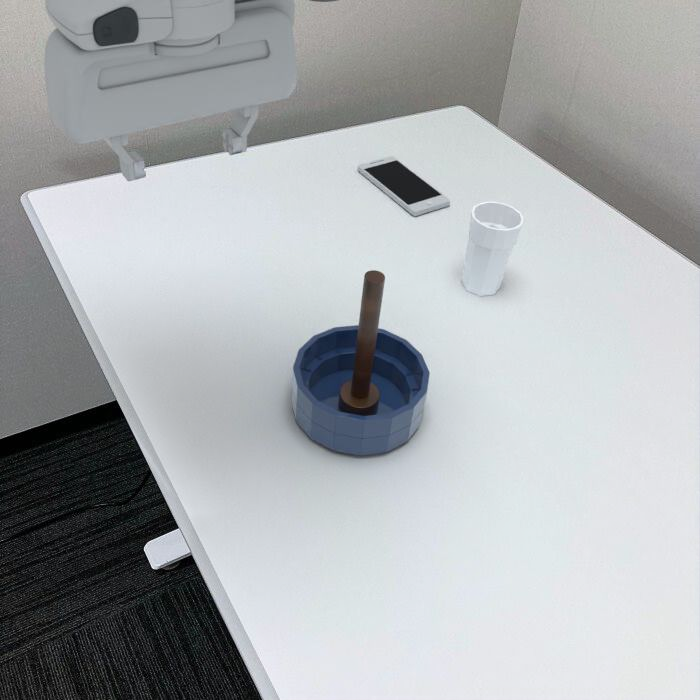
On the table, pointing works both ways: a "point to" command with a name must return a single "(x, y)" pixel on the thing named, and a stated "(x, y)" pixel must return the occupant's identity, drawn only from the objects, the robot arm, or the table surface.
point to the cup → (490, 246)
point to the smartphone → (403, 185)
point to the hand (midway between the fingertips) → (185, 163)
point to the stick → (365, 351)
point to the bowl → (337, 368)
